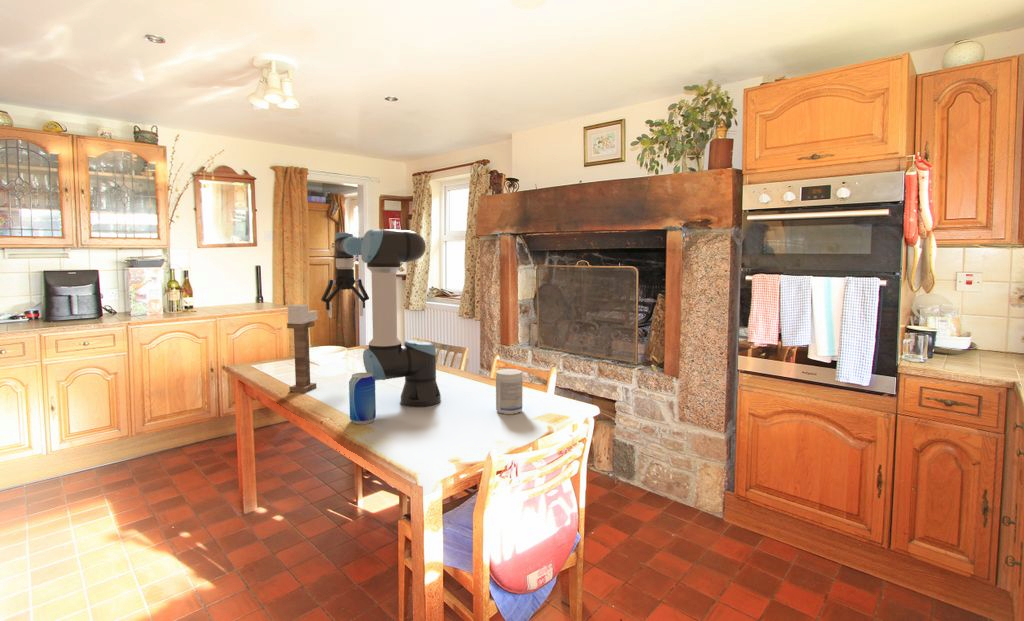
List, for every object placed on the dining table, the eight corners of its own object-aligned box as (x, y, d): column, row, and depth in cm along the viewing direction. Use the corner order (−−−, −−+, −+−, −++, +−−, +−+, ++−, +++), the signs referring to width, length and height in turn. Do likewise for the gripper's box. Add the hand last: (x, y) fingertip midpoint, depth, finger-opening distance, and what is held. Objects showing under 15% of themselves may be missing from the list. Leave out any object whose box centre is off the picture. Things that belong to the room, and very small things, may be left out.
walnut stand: (305, 393, 206) (302, 324, 203) (289, 391, 207) (287, 323, 204) (316, 387, 214) (314, 321, 210) (301, 386, 215) (298, 320, 212)
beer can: (366, 415, 179) (365, 370, 177) (380, 420, 174) (380, 374, 172) (344, 421, 173) (343, 375, 171) (359, 427, 167) (358, 379, 166)
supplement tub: (527, 411, 186) (528, 371, 184) (508, 417, 179) (509, 376, 178) (509, 405, 193) (509, 367, 191) (490, 410, 186) (490, 371, 185)
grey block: (301, 323, 203) (301, 306, 202) (288, 323, 204) (287, 305, 203) (323, 318, 218) (323, 302, 217) (311, 318, 219) (310, 302, 219)
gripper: (370, 267, 234) (370, 314, 236) (313, 268, 220) (314, 317, 222) (375, 268, 228) (376, 315, 230) (317, 268, 214) (318, 319, 216)
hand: (346, 316), depth 226 cm, fingers open, 13 cm apart
